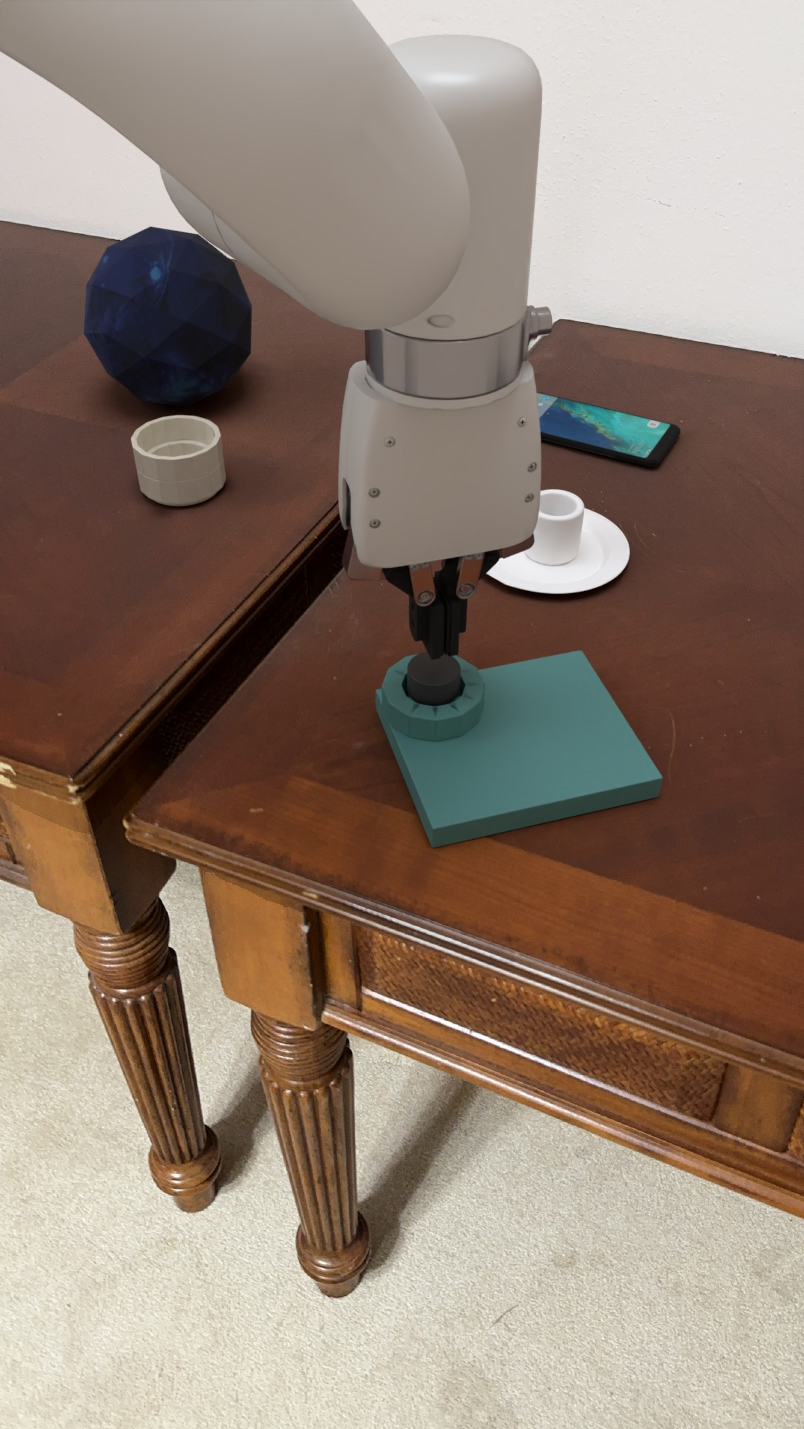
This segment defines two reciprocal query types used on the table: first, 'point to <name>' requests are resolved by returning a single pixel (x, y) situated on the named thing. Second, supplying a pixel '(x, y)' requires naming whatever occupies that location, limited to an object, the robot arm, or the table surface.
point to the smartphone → (604, 430)
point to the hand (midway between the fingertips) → (436, 642)
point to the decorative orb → (168, 316)
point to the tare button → (433, 679)
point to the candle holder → (566, 549)
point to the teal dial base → (514, 748)
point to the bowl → (179, 459)
